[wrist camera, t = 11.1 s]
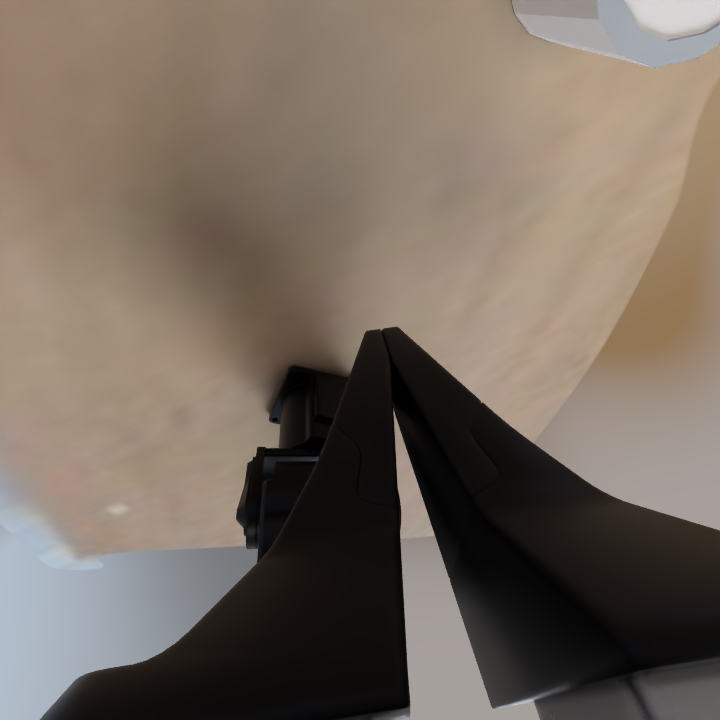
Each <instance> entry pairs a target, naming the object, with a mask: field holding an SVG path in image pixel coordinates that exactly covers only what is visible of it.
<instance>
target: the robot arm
mask: <svg viewBox="0 0 720 720" xmlns="http://www.w3.org/2000/svg"><path fill="white" fill-rule="evenodd" d="M293 372H296V374H295V373H293ZM393 408H394V412H395V415H396V418H397V421H398V424H399V427H400V431H401V434H402V437H403V440H404V443H405V446H406V449H407V452H408V455H409V458H410V461H411V464H412V467H413V470H414V473H415V476H416V479H417V482H418V485H419V488H420V491H421V494H422V497H423V500H424V503H425V506H426V509H427V512H428V515H429V518H430V521H431V525H432V528H433V531H434V534H435V537H436V540H437V542H438V546H439V549H440V552H441V555H442V558H443V561H444V564H445V567H446V570H447V573H448V576H449V578H450V582H451V585H452V588H453V591H454V594H455V597H456V600H457V604H458V607H459V609H460V613H461V616H462V619H463V622H464V625H465V628H466V631H467V634H468V637H469V640H470V643H471V646H472V649H473V652H474V654H475V658H476V661H477V664H478V667H479V670H480V673H481V676H482V679H483V682H484V685H485V688H486V691H487V694H488V697H489V700H490V703H491V706H492V708H493V709H495V708H501V707H507V706H514V705H520V704H526V703H532V702H534V703H535V706H536V709H537V712H538V714H539V718H540V720H720V531H719V530H716V529H713V528H710V527H706V526H703V525H700V524H696V523H693V522H690V521H687V520H683V519H680V518H676V517H673V516H670V515H667V514H664V513H660V512H657V511H653V510H650V509H647V508H644V507H640V506H637V505H634V504H630V503H628V502H624V501H622V500H620V499H617V498H615V497H613V496H610V495H609V494H607V493H605V492H603V491H601V490H599V489H598V488H596V487H594V486H592V485H591V484H590V483H588V482H586V481H585V480H583V479H582V478H581V477H579V476H578V475H577V474H575V473H573V472H572V471H571V470H570V469H568V468H567V467H565V466H564V465H563V464H561V463H560V462H558V461H557V460H555V459H554V458H553V457H551V456H550V455H549V454H547V453H546V452H545V451H543V450H542V449H540V448H539V447H538V446H536V445H535V444H533V443H532V442H531V441H529V440H528V439H527V438H525V437H524V436H523V435H521V434H520V433H519V432H517V431H516V430H515V429H513V428H512V427H511V426H510V425H508V424H507V423H506V422H505V421H504V420H502V419H501V418H500V417H499V416H498V415H497V414H495V413H494V412H493V411H492V410H491V409H490V408H489V407H487V406H486V405H485V404H484V403H481V401H480V400H479V399H478V398H477V397H476V396H475V395H474V394H473V393H471V392H470V391H469V390H468V389H467V388H466V387H465V386H464V385H462V384H461V383H460V382H459V381H458V380H457V379H456V378H455V377H453V376H452V375H451V374H450V373H449V372H448V371H447V370H446V369H444V368H443V367H442V366H441V365H440V364H439V363H438V362H437V361H435V360H434V359H433V358H432V357H431V356H430V355H429V354H428V353H426V352H425V351H424V350H423V349H422V348H421V347H420V346H419V345H417V344H416V343H415V342H414V341H413V340H412V339H411V338H410V337H408V336H407V335H406V334H405V333H404V332H403V331H402V330H401V329H400V328H398V327H390V328H384V329H383V330H382V331H381V330H380V329H377V330H370V331H366V332H365V334H364V337H363V340H362V343H361V346H360V348H359V351H358V354H357V357H356V359H355V362H354V365H353V368H352V370H351V373H350V376H349V379H348V378H343V377H339V376H335V375H331V374H326V373H322V372H318V371H314V370H309V369H305V368H301V367H296V366H293V367H290V368H289V369H288V372H287V374H286V376H285V379H284V381H283V384H282V386H281V388H280V391H279V393H278V396H277V398H276V401H275V403H274V405H273V408H272V410H271V413H270V416H269V421H270V422H272V423H276V424H280V438H279V448H266V447H258V448H257V453H256V457H253V460H252V461H251V462H249V463H248V465H247V472H246V479H245V485H244V489H243V492H242V495H241V499H240V502H239V505H238V508H237V514H236V520H237V521H238V522H239V524H240V525H241V526H242V527H243V528H244V536H246V547H247V549H256V548H257V549H258V560H257V564H256V565H255V566H254V567H253V568H252V569H251V570H250V571H249V572H248V573H247V574H246V575H245V576H244V577H243V578H242V579H241V580H240V581H239V582H238V583H237V584H236V585H235V586H234V587H233V588H232V589H231V590H230V591H229V592H228V593H227V594H226V595H225V596H224V597H223V598H222V599H221V600H220V601H219V602H218V603H217V604H216V605H215V606H214V607H213V608H212V609H211V610H210V611H209V612H208V613H207V614H206V615H205V616H204V617H203V618H202V619H201V620H200V621H199V622H198V623H197V624H196V625H195V626H194V627H193V628H192V629H191V630H190V631H189V632H188V633H187V634H186V635H184V636H183V637H182V638H181V639H180V640H179V641H178V642H176V643H175V644H174V645H172V646H171V647H169V648H168V649H166V650H165V651H164V652H162V653H160V654H158V655H156V656H155V657H152V658H150V659H149V660H146V661H143V662H140V663H137V664H133V665H126V666H120V667H114V668H108V669H103V670H99V671H95V672H91V673H88V674H85V675H83V676H81V677H79V678H78V679H76V680H75V681H74V682H73V683H72V684H71V686H70V687H69V688H68V689H67V690H66V691H65V692H64V693H63V694H62V696H61V697H60V698H59V699H58V700H57V701H56V702H55V703H54V704H53V705H52V706H51V708H50V709H49V710H48V711H47V712H46V713H45V714H44V715H43V717H42V718H41V719H40V720H410V694H409V683H408V669H407V651H406V633H405V617H404V616H405V615H404V598H403V580H402V561H401V543H400V528H401V505H400V498H399V493H398V488H397V469H396V451H395V432H394V414H393Z"/></svg>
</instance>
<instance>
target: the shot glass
mask: <svg viewBox="0 0 720 720" xmlns="http://www.w3.org/2000/svg"><path fill="white" fill-rule="evenodd" d="M512 4H513V9H514V14H515V15H516V16H517V18H518V19H519V20H520V22H521V23H522V24H523V26H524V27H525V28H526V30H527V31H528V32H529V34H531V35H534V36H536V37H539V38H542V39H545V40H547V41H550V42H554V43H558V44H562V45H566V46H570V47H574V48H578V49H582V50H585V51H589V52H593V53H597V54H601V55H605V56H609V57H613V58H617V59H621V60H625V61H629V62H633V63H637V64H641V65H645V66H649V67H653V68H656V67H660V66H665V65H670V64H674V63H679V62H684V61H688V60H693V59H697V58H699V57H700V56H702V55H703V54H705V53H707V52H708V51H710V50H711V49H713V48H715V47H716V46H718V45H719V44H720V0H512Z"/></svg>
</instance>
